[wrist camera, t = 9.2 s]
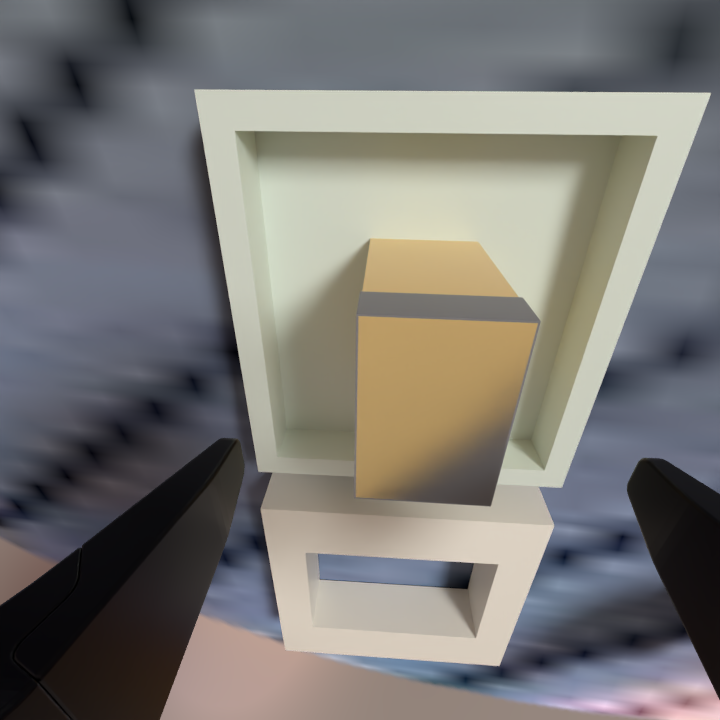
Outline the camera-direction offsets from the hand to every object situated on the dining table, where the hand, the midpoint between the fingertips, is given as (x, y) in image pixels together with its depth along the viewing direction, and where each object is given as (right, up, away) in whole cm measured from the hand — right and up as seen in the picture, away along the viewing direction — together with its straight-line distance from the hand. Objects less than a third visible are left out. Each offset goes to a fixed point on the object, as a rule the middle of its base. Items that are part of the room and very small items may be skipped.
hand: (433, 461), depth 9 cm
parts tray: (+1, +4, +8) cm, 9 cm away
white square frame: (+1, -10, +16) cm, 19 cm away
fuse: (+1, +4, +7) cm, 9 cm away
